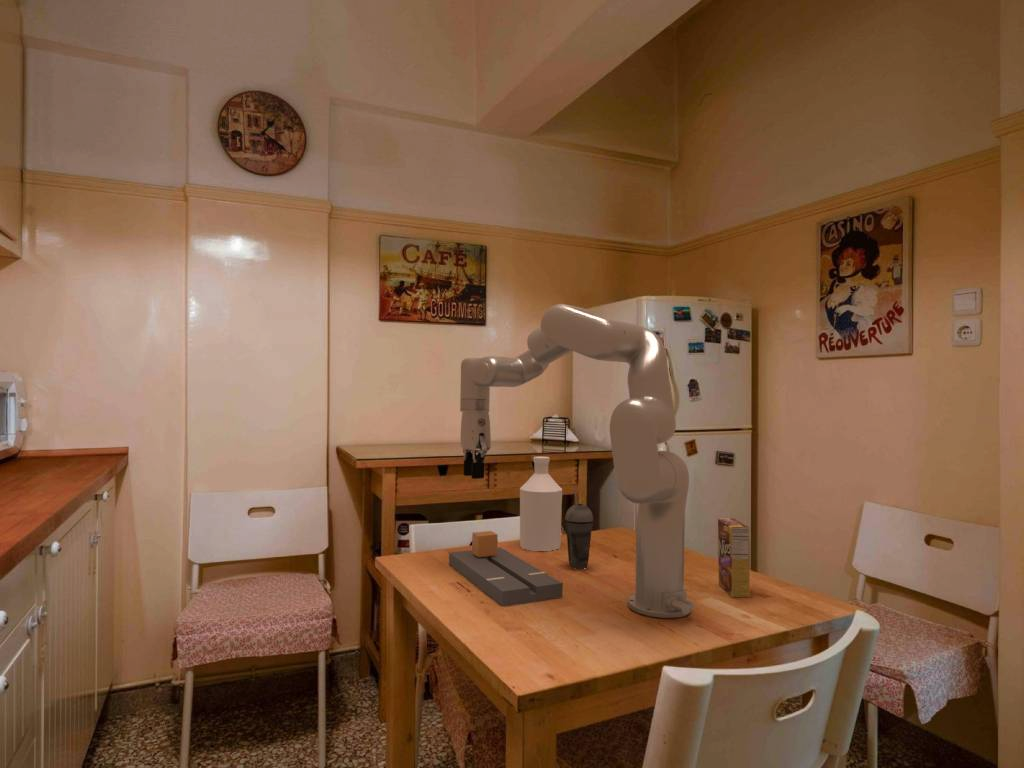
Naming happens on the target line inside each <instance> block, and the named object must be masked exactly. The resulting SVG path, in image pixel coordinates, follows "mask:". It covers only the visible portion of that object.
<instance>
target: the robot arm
mask: <svg viewBox="0 0 1024 768" xmlns="http://www.w3.org/2000/svg"><path fill="white" fill-rule="evenodd" d="M528 334H529V335H528V337H527V341H526V343H527V348H528V350H526V351H525V352H523V353H521V354H519V355H518V356H515V357H510V356H509V357H508V356H493V355H492V356H491V355H490V356H489V355H488V356H483V357H467V358H464V359H462V361H461V364H460V394H459V395H460V397H459V398H460V400H459V401H460V403H459V404H460V405H459V412H460V413H461V412H462V413H461V419H460V447H461V448H462V453H463V458H462V459H463V476H464V477H468V476H470V477H471V479H473V480H477V479H484V478H485V462H486V459H485V457H486V455H487V453H488V451H490V450H491V449H492V448H491V447H492V446H491V443H492V439H491V437H492V436H491V420H490V414H489V413H490V396H491V395H490V391H491V389H490V387H492V388H494V387H495V388H497V387H499V388H500V387H501V388H502V387H504V388H505V387H506V388H515V387H520V386H522V385H525V384H526V383H527V384H528V383H529V382H531V381H532V380H534V379H537V378H538V377H540V376H541V375H542V374H544V372H545V371H546V370H547V368H548V367H549V365H550V364H551V363H552V362H555V361H556V360H559V359H560V358H562V357H563V356H565V355H568V354H569V353H571V352H575V353H577V354H578V355H582V356H584V357H587V358H590V359H593V360H597V361H603V362H617V363H626V364H628V365H629V367H628V372H627V387H628V393H629V395H628V396H629V397H628V399H625V400H623V401H621V402H619V403H618V404H617V406H616V407H615V408H614V410H613V411H612V413H611V416H610V423H609V436H610V444H611V445H610V446H611V452H612V460H613V461H612V462H613V467H614V468H613V469H614V475H615V480H616V484H617V487H618V489H619V491H620V493H621V494H622V495H623V497H624V498H625V499H626V500H628V502H629V501H630V502H632V503H634V504H637V506H638V507H637V513H636V522H635V523H636V524H635V525H636V528H635V529H636V530H635V593H633V594H630V596H629V597H627V606H628V607H629V608H630V610H632V611H633V612H635V613H637V614H640V615H643V616H648V617H652V618H660V619H675V618H681V617H685V616H688V615H689V614H691V612H692V610H693V609H694V608H695V603H694V601H692V600H690V599H688V596H687V595H688V591H687V589H684V588H685V587H684V586H685V582H684V581H685V575H684V574H685V531H686V530H685V529H686V527H685V526H686V523H685V522H686V521H685V520H686V507H687V499H688V492H689V486H690V474H689V469H688V465H686V464H687V463H685V461H684V460H683V458H681V457H680V456H679V455H678V454H677V453H675V452H672V451H667V450H659V447H658V445H659V444H660V445H661V444H664V443H666V442H667V441H669V440H671V438H672V437H674V434H675V432H676V427H677V423H676V414H675V408H674V401H673V394H672V386H671V382H670V375H669V366H668V357H667V351H666V347H665V345H664V342H663V341H662V339H661V338H660V336H658V335H657V334H656V333H655V332H654V331H652V330H651V329H649V328H647V327H644V326H641V325H637V324H634V323H629V322H625V321H624V322H623V321H619V320H618V321H617V320H611V319H607V318H604V317H599V316H597V315H595V314H594V313H593V312H592V311H591V310H589V309H586V308H584V307H581V306H575V305H572V304H571V305H570V304H565V303H557V304H554V305H552V306H551V307H549V308H547V310H546V311H545V312H544V313H543V315H542V317H541V319H540V326H539V327H538V328H536V329H534V330H533V331H531V332H530V333H528Z"/></svg>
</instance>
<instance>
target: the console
mask: <svg viewBox="0 0 1024 768" xmlns="http://www.w3.org/2000/svg"><path fill="white" fill-rule="evenodd" d="M448 565H449V566H450V567H451V568H452V569H454V570H456V572H458V573H459V574H461V576H463V577H465V578H466V579H467V580H468V581H469V582H470V583H472V584H473V585H475V586H476V587H477V588H478V589H480V590H481V591H482V592H483V593H484V594H486V595H487V596H488V597H489V598H491V599H492V600H493V601H495V603H497V604H498V605H499V606H501V607H507V606H506V605H508V606H514V604H515V605H521V604H520V603H522V604H527V602H528V603H535V602H540V601H541V600H542V601H548V600H554V598H555V599H561V598H560V597H562V598H563V594H564V593H563V592H564V589H563V587H564V586H563V585H564V583H563V582H562V581H560V580H558V579H556V578H554V577H553V576H551V575H550V574H547V573H546V572H545V571H542V570H540V568H537V567H535V566H534V565H532V564H531V563H529V562H527V561H525V560H523V559H522V558H520V557H518V556H516V554H513V553H512V552H510V551H508V550H506V549H504V548H502V547H501V546H500V547H498V546H497V555H494V556H489V561H488V560H487V559H485V558H484V557H477V556H476V555H474V554H473V553H472V549H471V550H462V551H453V552H452V551H451V552H449V553H448ZM547 599H548V600H547ZM534 601H535V602H534ZM512 604H513V605H512Z"/></svg>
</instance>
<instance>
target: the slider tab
mask: <svg viewBox="0 0 1024 768" xmlns="http://www.w3.org/2000/svg"><path fill="white" fill-rule="evenodd" d="M471 534H472V535H471V550H472V553H473V554H474V555H476V556H477V557H484V558H485V559H487V560H488V561H489V556H494V555H497V548H498V534H497V533H495V532H493V531H492V530H488V531H477V532H472V533H471Z"/></svg>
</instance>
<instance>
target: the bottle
mask: <svg viewBox="0 0 1024 768" xmlns="http://www.w3.org/2000/svg"><path fill="white" fill-rule="evenodd" d="M550 459H551V458H550V457H549V456H533V464H534V465H533V467H534V468H533V469H534V473H533V474H532V475H531V476H530V478H529V479H528V480H527V481H526V482H525V483H524V484H523V485H522V486H521V487H520V488H519V547H520V548H521V547H522V548H523V549H522V548H521V549H522V550H525V549H526V550H525V551H528V550H530V551H529V552H535V551H549V552H552V551H551V550H555V551H557V550H556V549H558V548H560V549H561V545H562V544H561V542H562V541H561V539H562V508H563V507H562V505H563V489H562V487H561V486H559V484H558V483H557V482H556V481H555V480H554V478H553V477H552V476H551V475H550V474H549V463H550ZM558 550H559V549H558Z"/></svg>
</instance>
